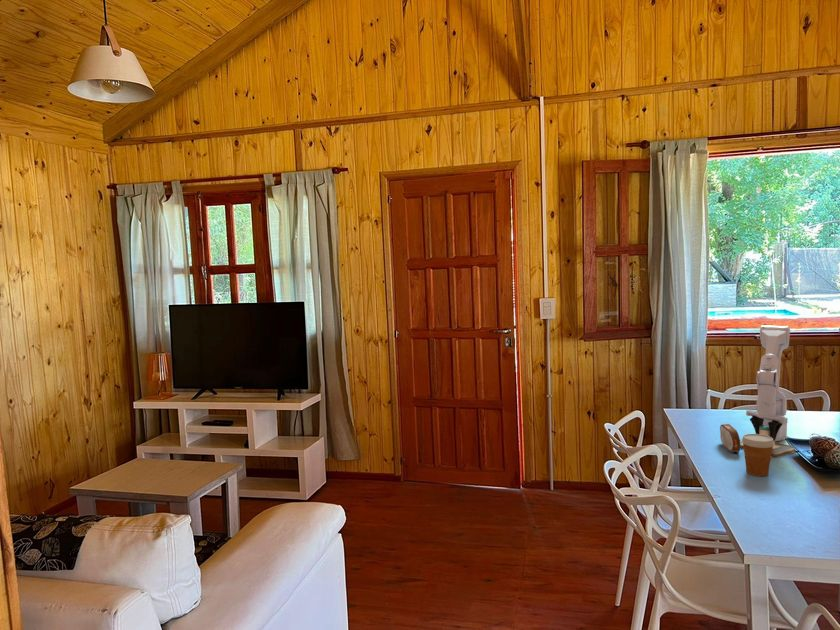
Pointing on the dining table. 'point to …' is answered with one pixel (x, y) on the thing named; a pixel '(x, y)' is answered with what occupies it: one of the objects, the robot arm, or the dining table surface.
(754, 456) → the disposable coffee cup
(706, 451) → the dining table surface
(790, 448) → the slate board
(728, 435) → the tin
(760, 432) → the beige cylinder
